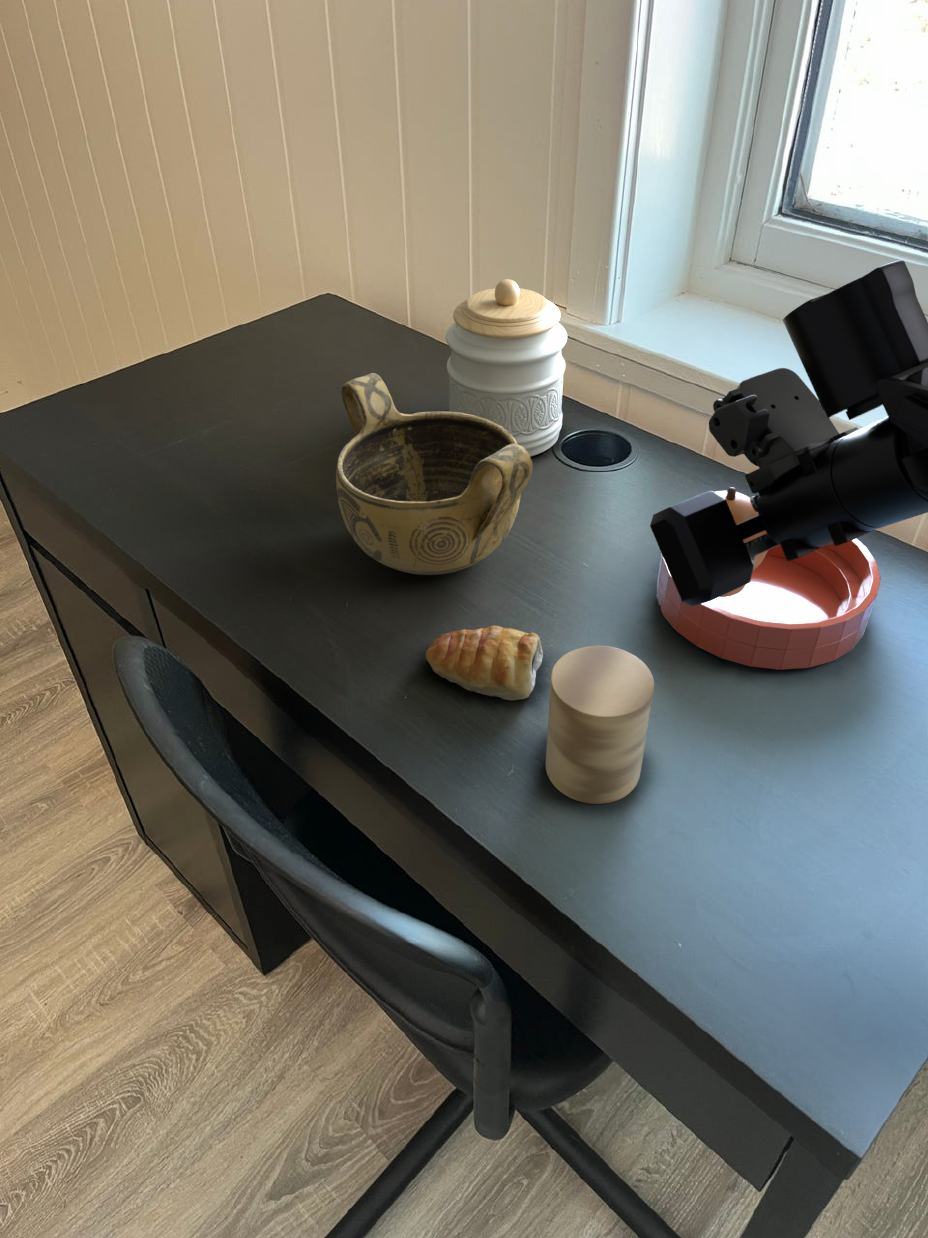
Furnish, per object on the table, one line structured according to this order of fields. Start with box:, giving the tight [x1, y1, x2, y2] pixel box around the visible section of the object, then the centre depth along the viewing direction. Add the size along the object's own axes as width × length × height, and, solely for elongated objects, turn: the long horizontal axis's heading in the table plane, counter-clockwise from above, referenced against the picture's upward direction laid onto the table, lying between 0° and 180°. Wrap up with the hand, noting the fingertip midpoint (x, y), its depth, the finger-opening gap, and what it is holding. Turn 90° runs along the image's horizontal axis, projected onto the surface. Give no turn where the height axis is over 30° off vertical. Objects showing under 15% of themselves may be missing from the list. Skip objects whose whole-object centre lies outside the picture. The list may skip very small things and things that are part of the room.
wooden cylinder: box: [545, 645, 655, 805], centre depth 67 cm, size 7×7×9 cm
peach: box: [714, 486, 768, 597], centre depth 67 cm, size 6×6×8 cm
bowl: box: [656, 538, 881, 671], centre depth 83 cm, size 18×18×5 cm
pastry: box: [425, 624, 544, 701], centre depth 77 cm, size 9×7×4 cm
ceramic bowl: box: [335, 372, 534, 576], centre depth 86 cm, size 22×17×15 cm
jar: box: [445, 278, 568, 457], centre depth 103 cm, size 13×13×18 cm
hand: (707, 542), depth 69 cm, fingers closed on peach, 6 cm apart
